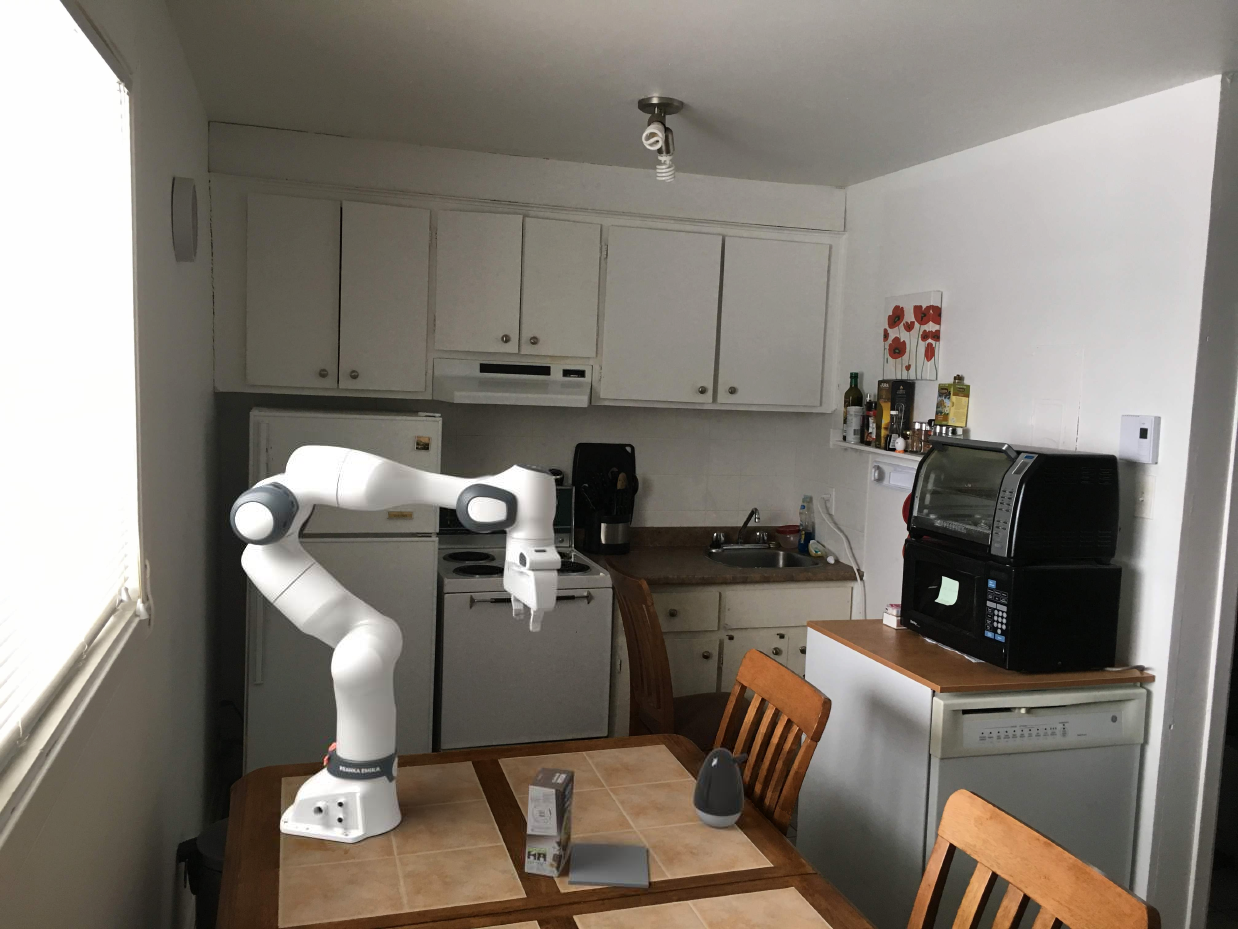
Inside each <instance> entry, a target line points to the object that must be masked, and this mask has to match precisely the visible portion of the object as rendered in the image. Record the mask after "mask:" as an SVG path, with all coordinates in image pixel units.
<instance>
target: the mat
mask: <svg viewBox="0 0 1238 929" xmlns="http://www.w3.org/2000/svg"><path fill="white" fill-rule="evenodd" d="M647 855H648V854H647V846H646V845H631V844H630V845H628V844H611V843H610V844H609V843H592V842H591V843H590V842H589V843H587V842H571V849H570V862H569V869H568V870H569V871H568V872H569V873H568V879H567V880H568V882H567V884H568V885H576V886H577V885H580V886H581V885H582V886H596V887H597V886H600V887H620V888H622V887H623V888H638V889H639V888H643V889H649V886H650V885H649V872H648V870H649V869H648V856H647Z"/></svg>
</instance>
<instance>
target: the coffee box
mask: <svg viewBox="0 0 1238 929" xmlns="http://www.w3.org/2000/svg"><path fill="white" fill-rule="evenodd" d="M574 778H575V770H571V769H561V768H550V767H541V769H539V771H538V773H537V774H536V775H535V777H534V778H533V780H532V781H531V782H530V784H529V786H528V800H527V801H528V806H527V822H526V823H527V826H526V843H525V844H526V845H525V848H526V849H525V863H524V872H525V873H530V874H534V875H540V876H541V875H542V876H548V877H554V878H558V877H559V875H560V873H561V872H562V869H563V868H564V866H565V864H566V862H567V860H568V859H569V857H570V856H571V849H572V824H573V823H572V822H573V802H574V801H573V798H574V782H575V779H574Z"/></svg>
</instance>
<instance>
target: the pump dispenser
mask: <svg viewBox="0 0 1238 929" xmlns="http://www.w3.org/2000/svg"><path fill="white" fill-rule="evenodd" d="M748 758H749V757H748V754H747V753H743V754H739V755H736V756H735V755H733V753H732V752H731V751H730V750H728V749H726V748H723V747H719V748H714V749H713V750H712V751H710V752H709V754H708V755H707V757H706V759H704V762H703V763H702V766H701V768H700V770H699V773H698V776H697V778H696V783H695V788H694V792H693V801H692V802H693V806H694V809H695V812H696V815H697V816H698V818H699V820H700V821H702V822H703V823H705V825H707V826H710V827H714V828H726V827H727V828H728V827H729V826H732V825H734V824H735V823H736V822H737V821H738V820H739V818H740V816H741V814H742V812H743V811H744V807H745V806H744V805H745V796H744V785H743V780H742V775H741V772H740V768H739V766H738V764H739V763H741V762H743V761H745V760H747V759H748Z"/></svg>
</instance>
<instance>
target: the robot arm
mask: <svg viewBox="0 0 1238 929" xmlns="http://www.w3.org/2000/svg"><path fill="white" fill-rule="evenodd" d="M556 489H557V488H556V482H555V477H554V476H553V474H552V473H551V471H549V470H548V469H546V468H544V467H541V466H539V465H535V464H529V463H516V464H514V465H513V466H511V467H510V468H509V469H507V470H504V471H502V472H500V473H490V474H489V473H488V474H483V475H480V476H475V477H461V476H456V475H447V474H444V473H437V472H432V471H426V470H421V469H417V468H414V467H412V466H411V467H410V466H408V465H405V464H403V463H399V462H396V461H394V460H391V459H388V458H385V457H383V456H380V455H376V454H373V453H369V452H365V451H362V450H357V449H353V448H346V447H339V446H329V445H305V446H304V445H303V446H301V447H299V448H297V449H296V450H295V451H294V452H293V453H292V454H291V456H290V457H289V459H288V462H287V464H286V468H285V472H282V473H278V474H275V475H273V476H271V477H268V478H265V479H263V480H261V481H259V482H257V483H256V484H255V485H254V486H253V487H251V488H249V489H248V490H246V491H244V492H243V493H242V494H241V495H239V496H238V498H237V499H236V500H235V502H234V503H233V505H232V508H231V511H230V515H229V516H230V517H229V520H230V525H231V529H232V531H233V532H234V533H235V535H236V536H237V537H238V539H240V540H242V542H245V543H246V544H247V545H246V548H245V549H244V551H243V552H242V553H243V554H242V555H241V567H242V568H243V570H244V571H245V573H246V575H247V576H248V577H249V579H250V580H251V582H252V583H253V584H254V585H255V587H256V588H257V589H258V590H259V592H261V593H262V595H263V596H264V597H265V598H266V599H267V600H268V601H269V602H270V603H271V604H272V605H273V606H274V607H276V609H278V610H279V611H280V613H282V614H283V615H284V616H285V617H286V618H287V619H288V620H289V621H290V622H292V623H293V625H294V626H295V627H296V628H298V629H299V630H300V631H301V632H303V633H304V634H307V635H311V637H315V638H317V639H318V640H320V641H321V642H324V643H325V644H326V645H328V646H330V647H331V648H333V654H332V658H331V664H330V671H331V676H332V679H333V680H332V681H333V690H334V697H335V698H334V699H335V704H336V741H335V742H333V743H332V744H331V746H329V748H328V752H327V753H326V754H325V757H324V761H323V766H324V768H323V769H321V770H320V771H319V772H317V773H316V774H314V775H313V776H311V777H310V778H309V779H307V780H306V781H305V782H304V783H303V784H302V785H301V786H300V788H299V790H298V791H297V794H296V796H295V799H294V802H293V803H292V804H291V805H290V806H289V807H288V808H287V809H286V810H285V812H284V813H283V814H282V815H281V816H282V817H281V819H280V824H279V828H280V831H281V832H282V834H287V835H295V836H302V837H307V838H314V839H321V840H322V839H323V840H327V841H336V842H341V843H347V844H348V843H349V844H353V843H357V842H359V841H362V840H364V839H366V838H370V837H372V836H377V835H380V834H384V833H386V832H389V831H391V830H392V829H394V828H396V827H397V826H398V825H399V824H400V822H401V821H402V813H401V810H400V807H399V800H398V795H397V787H396V786H397V785H396V778H397V774H398V759H399V758H398V749H397V746H396V728H397V727H396V726H397V708H396V703H395V694H394V671H395V666H396V663H397V661H398V659H399V658H400V656H401V653H402V649H403V634H402V631H401V629H400V626H399V625H398V624H397V622H396V621H395V620H394V619H392V618H391V617H389V616H387V615H384V614H381V613H380V612H379V611H378V610H376V609H375V608H374V607H372V606H371V605H369V604H368V603H366V602H365V601H363V600H362V599H361V598H358V597H357V596H356V595H354V594H353V593H351V592H350V591H349V590H348V589H346V588H345V587H344V586H343V585H342V584H341V583H340V582H339V581H338V580H336V578H335V577H333V575H332V574H330V573H329V572H328V571H327V570H326V569H325V568H324V567H323V566H322V565H321V564H320V563H319V562H318V561H317V560H316V559H314V558H313V557H312V555H310V554H309V553H308V552H307V551H306V550H305V549H304V548H303V546H302V545H301V543H300V541H299V535H302V534H303V533H304V532H305V530H306V528H307V526H308V524H309V522H310V520H311V519H312V516H313V514H314V512H315V510H316V507H317V505H326V506H330V507H331V506H332V507H336V508H340V509H346V510H352V511H355V510H356V511H365V512H366V511H375V512H376V511H381V510H385V509H390V508H395V507H398V506H401V505H407V504H411V505H412V504H422V505H430V506H436V507H440V508H447V509H453V510H456V516H457V518H458V520H459V521H460V523H462V525H463V526H464V527H465V528H467V529H468V530H470V531H473V532H476V533H482V534H483V533H490V532H494V531H495V532H496V531H501V530H504V531H506V541H505V542H506V543H505V561H504V568H503V569H504V570H503V578H502V579H503V581H502V582H503V589H504V590H505V591H507V593H509V594H510V598H511V599H510V600H511V605H512V616H513V618H514V619H516V620H522V619H524V618H525V609H524V604H525V605H526V606H527V607H529V608H530V614H531V615H530V620H528V629H529V630H530V631H531V632H532V633H536V632H540V631H541V629H542V628H541V627H542V626H541V625H542V623H541V622H543V618H544V615H545V612H553V611H554V607H555V606H556V601H557V600H556V599H557V593H558V583H559V580H558V578H559V574H558V571H557V570H558V569H561V566H562V559H561V556H560V554H559V553H558V550H556V545H555V532H554V531H555V530H554V527H553V526H554V525H553V524H554V519H555V516H556V509H557V507H556V506H557V498H556V497H557V490H556Z"/></svg>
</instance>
